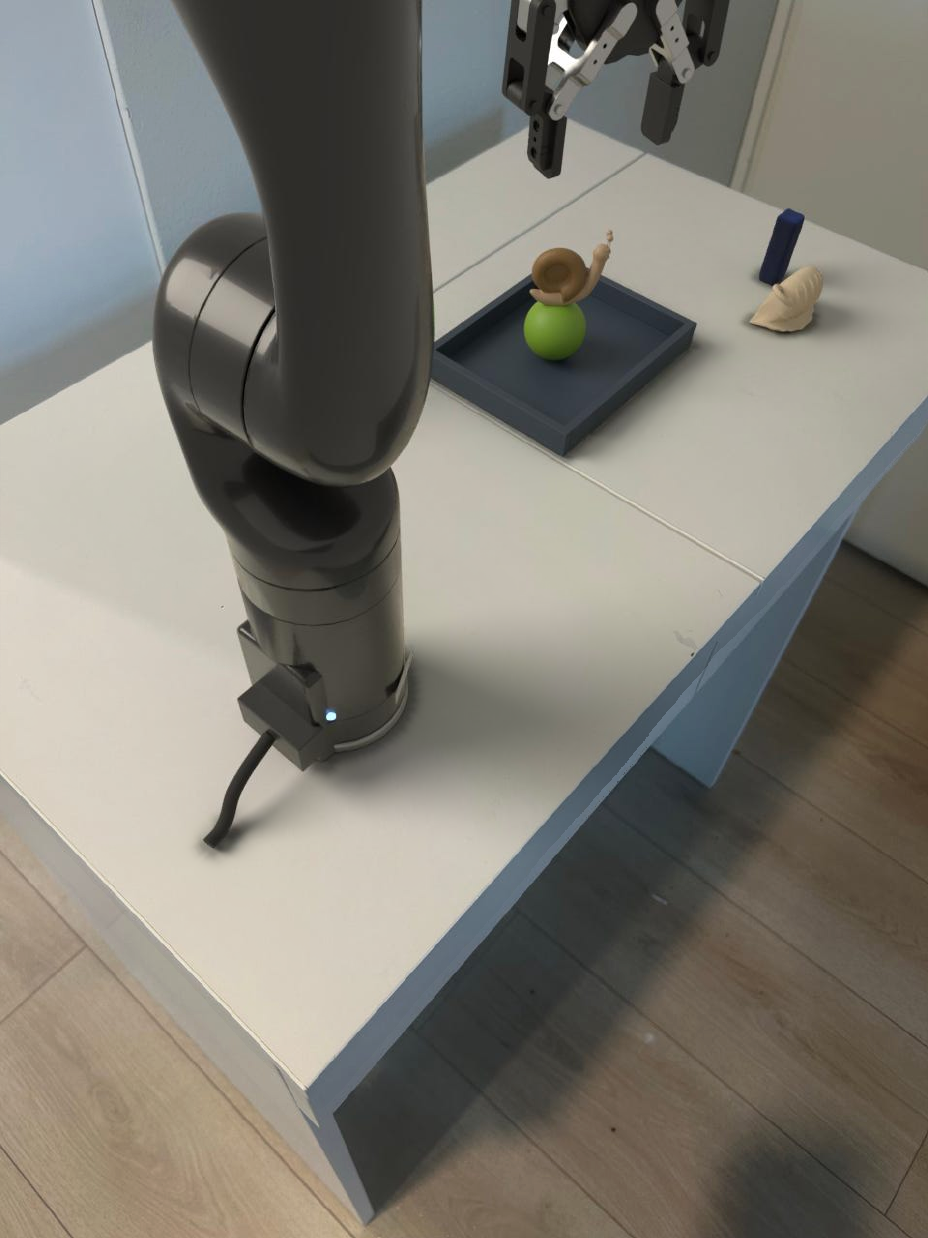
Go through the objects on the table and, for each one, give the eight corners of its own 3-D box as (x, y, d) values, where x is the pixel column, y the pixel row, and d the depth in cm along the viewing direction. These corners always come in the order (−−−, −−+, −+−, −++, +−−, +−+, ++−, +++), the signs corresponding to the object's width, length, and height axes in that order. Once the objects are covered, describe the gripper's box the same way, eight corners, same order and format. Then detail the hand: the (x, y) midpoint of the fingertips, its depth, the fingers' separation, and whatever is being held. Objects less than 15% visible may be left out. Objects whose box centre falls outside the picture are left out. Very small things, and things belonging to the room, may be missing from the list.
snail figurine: (594, 374, 83) (616, 252, 74) (522, 372, 83) (534, 249, 74) (590, 335, 87) (611, 213, 77) (520, 333, 86) (532, 210, 77)
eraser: (766, 269, 94) (787, 205, 89) (786, 278, 93) (808, 214, 88) (755, 278, 93) (775, 214, 88) (774, 288, 93) (796, 224, 87)
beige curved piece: (825, 313, 90) (845, 263, 86) (772, 349, 87) (790, 299, 83) (790, 293, 92) (808, 243, 88) (737, 327, 89) (753, 277, 84)
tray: (562, 457, 78) (566, 435, 76) (422, 372, 84) (422, 349, 82) (691, 345, 87) (697, 322, 85) (556, 275, 93) (559, 252, 91)
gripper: (576, -121, 43) (541, 214, 56) (808, -165, 47) (725, 154, 60) (487, -170, 46) (474, 155, 59) (711, -207, 51) (653, 103, 64)
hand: (601, 154), depth 60 cm, fingers open, 8 cm apart
